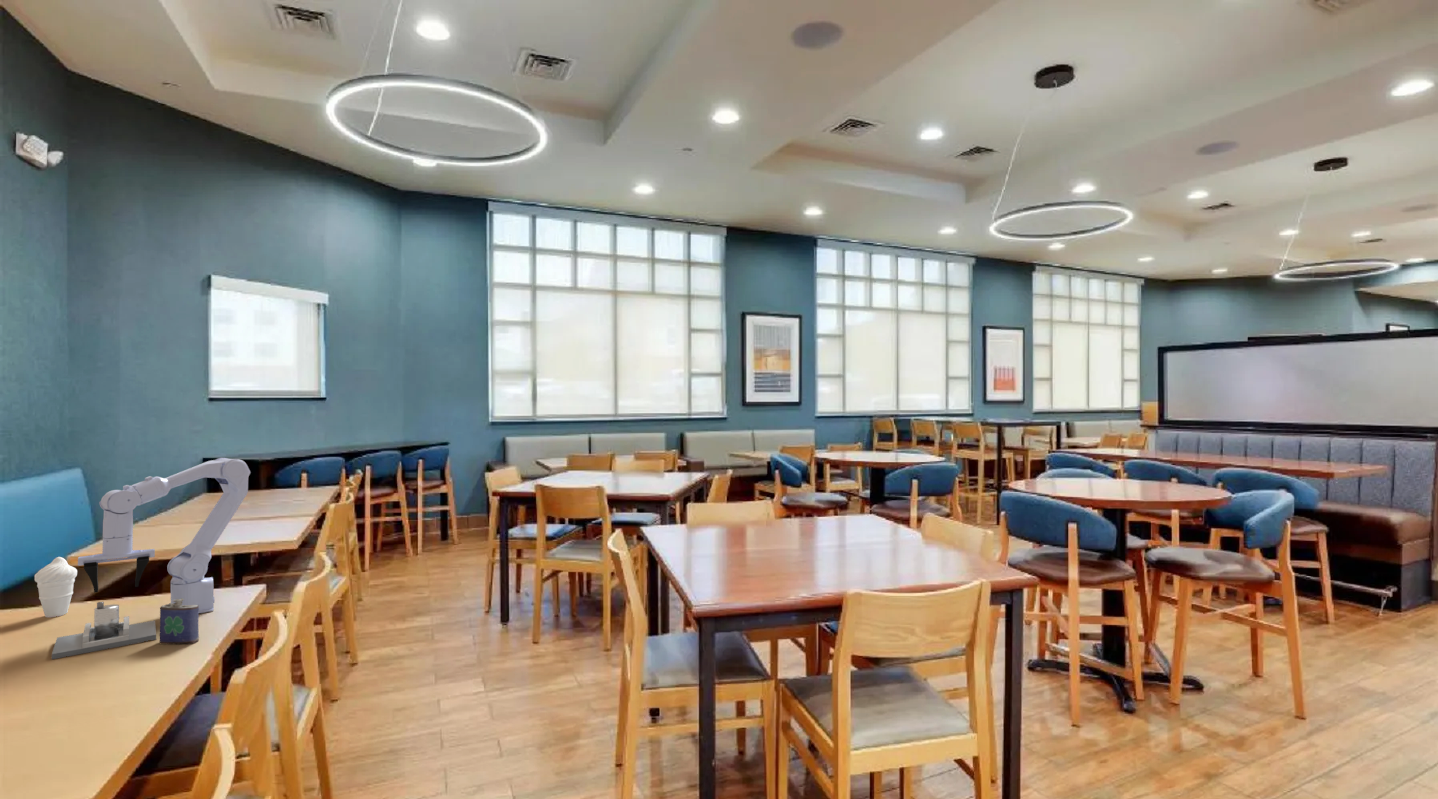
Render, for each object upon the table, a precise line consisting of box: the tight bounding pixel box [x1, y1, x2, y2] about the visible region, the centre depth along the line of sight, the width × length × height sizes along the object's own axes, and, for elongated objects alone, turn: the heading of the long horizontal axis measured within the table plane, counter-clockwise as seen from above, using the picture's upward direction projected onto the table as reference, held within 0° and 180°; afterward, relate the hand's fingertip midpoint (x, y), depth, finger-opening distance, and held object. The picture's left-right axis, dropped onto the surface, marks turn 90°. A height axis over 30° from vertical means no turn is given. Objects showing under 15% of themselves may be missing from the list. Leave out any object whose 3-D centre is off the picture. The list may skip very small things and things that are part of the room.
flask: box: [159, 598, 200, 645], centre depth 157 cm, size 9×3×11 cm, turn 88°
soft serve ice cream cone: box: [34, 556, 78, 618], centre depth 177 cm, size 8×8×16 cm
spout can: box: [93, 601, 120, 639], centre depth 158 cm, size 4×4×8 cm
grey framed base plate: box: [51, 616, 157, 660], centre depth 158 cm, size 18×14×4 cm
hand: (116, 588), depth 166 cm, fingers open, 7 cm apart
